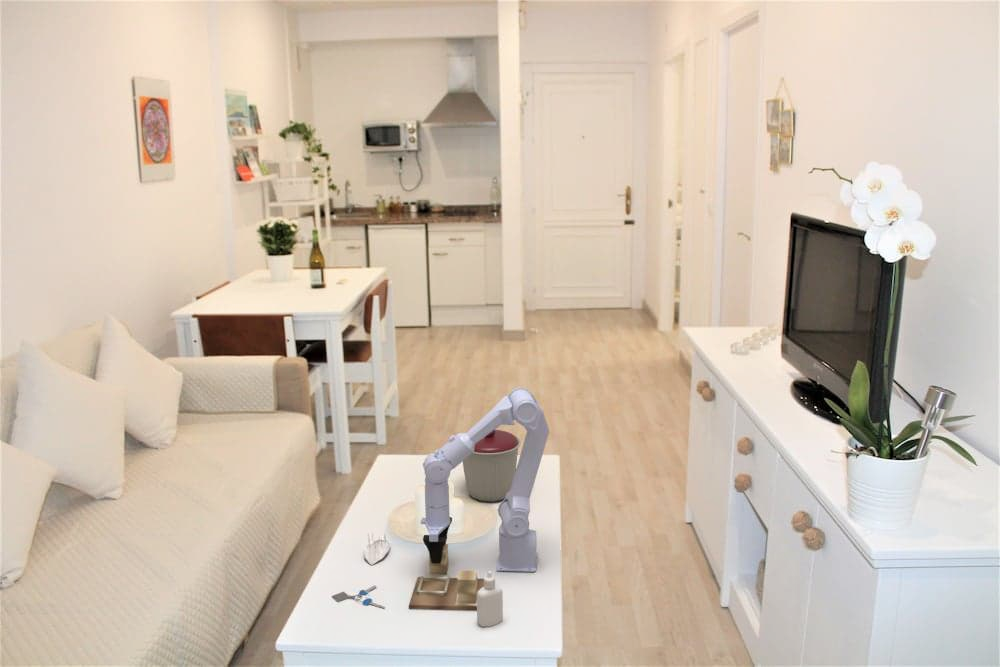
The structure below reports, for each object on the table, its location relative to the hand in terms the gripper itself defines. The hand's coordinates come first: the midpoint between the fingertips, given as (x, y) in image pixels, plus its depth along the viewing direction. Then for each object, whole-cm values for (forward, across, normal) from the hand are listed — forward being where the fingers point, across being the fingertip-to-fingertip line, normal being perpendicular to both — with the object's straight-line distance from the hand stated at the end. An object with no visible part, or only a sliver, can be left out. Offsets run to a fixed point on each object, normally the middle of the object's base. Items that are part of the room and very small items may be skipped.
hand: (438, 554), depth 202 cm
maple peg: (+4, 0, 0) cm, 4 cm away
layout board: (+4, +11, +4) cm, 12 cm away
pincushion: (+5, -8, -17) cm, 19 cm away
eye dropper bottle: (+4, +21, +14) cm, 26 cm away
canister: (+4, -44, +9) cm, 45 cm away
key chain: (+5, +12, -16) cm, 21 cm away
